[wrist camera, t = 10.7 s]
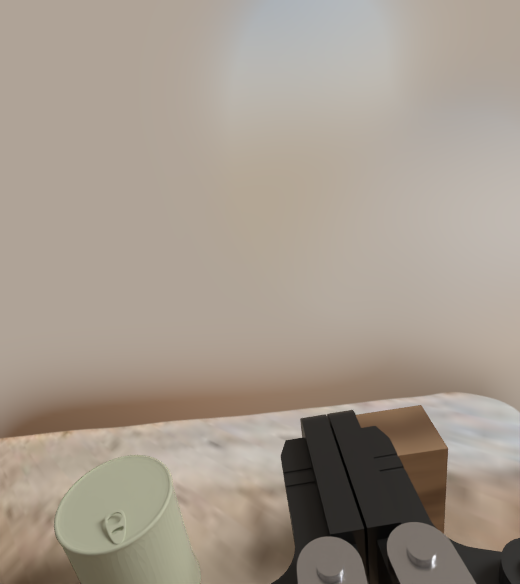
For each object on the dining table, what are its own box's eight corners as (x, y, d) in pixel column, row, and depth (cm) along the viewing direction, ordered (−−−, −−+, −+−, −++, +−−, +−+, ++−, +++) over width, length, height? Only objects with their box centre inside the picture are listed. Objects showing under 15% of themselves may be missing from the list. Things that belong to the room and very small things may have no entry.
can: (100, 673, 33) (48, 574, 29) (94, 568, 41) (52, 476, 36) (213, 614, 36) (183, 514, 31) (187, 526, 44) (160, 435, 39)
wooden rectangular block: (442, 557, 37) (448, 448, 32) (373, 568, 37) (367, 460, 32) (419, 508, 42) (421, 405, 37) (357, 517, 42) (350, 415, 37)
